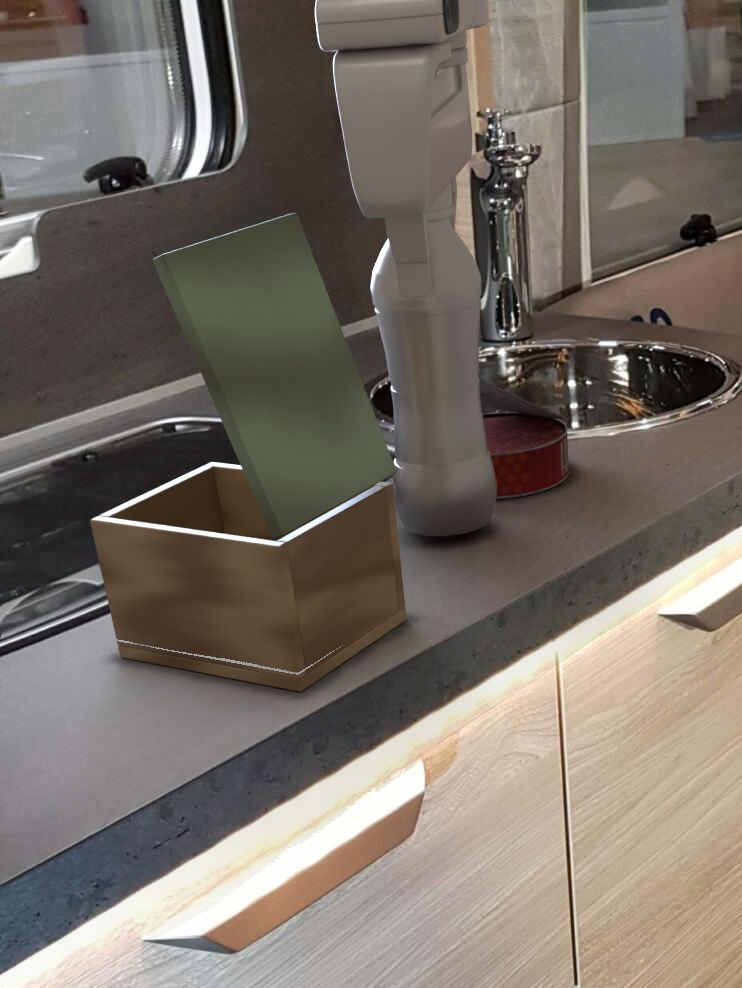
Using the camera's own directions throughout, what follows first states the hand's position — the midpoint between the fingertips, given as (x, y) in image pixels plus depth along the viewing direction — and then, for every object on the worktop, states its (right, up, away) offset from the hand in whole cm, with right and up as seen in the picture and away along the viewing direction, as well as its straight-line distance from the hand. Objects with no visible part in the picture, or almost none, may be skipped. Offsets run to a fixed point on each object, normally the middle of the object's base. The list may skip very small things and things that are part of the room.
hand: (429, 277), depth 90 cm
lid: (-7, -12, -14) cm, 19 cm away
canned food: (+4, -6, +17) cm, 19 cm away
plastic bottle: (+1, -12, +9) cm, 15 cm away
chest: (-9, -22, -4) cm, 24 cm away
